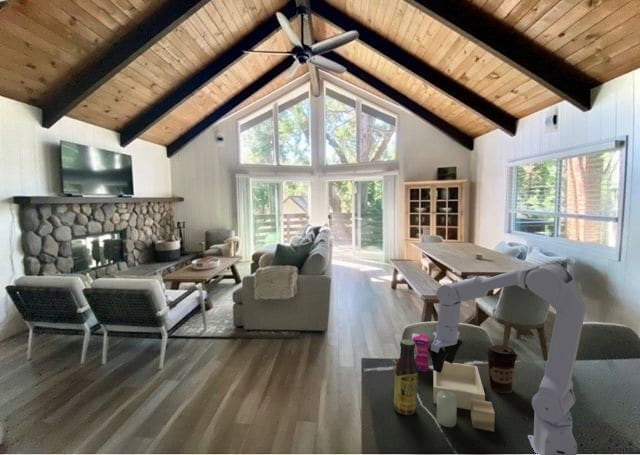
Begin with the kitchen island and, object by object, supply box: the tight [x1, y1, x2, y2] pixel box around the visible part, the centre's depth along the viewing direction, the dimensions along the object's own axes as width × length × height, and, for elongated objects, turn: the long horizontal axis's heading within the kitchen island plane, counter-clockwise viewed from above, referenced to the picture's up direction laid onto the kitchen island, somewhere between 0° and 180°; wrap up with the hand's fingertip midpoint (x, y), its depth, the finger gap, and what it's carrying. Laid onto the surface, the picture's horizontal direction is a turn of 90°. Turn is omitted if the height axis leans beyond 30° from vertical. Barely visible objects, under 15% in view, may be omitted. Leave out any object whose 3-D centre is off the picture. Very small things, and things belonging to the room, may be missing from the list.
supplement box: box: [411, 332, 430, 373], centre depth 116 cm, size 6×6×12 cm
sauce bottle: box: [393, 338, 419, 416], centre depth 92 cm, size 7×6×20 cm
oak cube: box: [470, 399, 496, 432], centre depth 87 cm, size 5×5×5 cm
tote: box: [432, 361, 486, 411], centre depth 102 cm, size 18×14×5 cm
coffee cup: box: [486, 344, 518, 394], centre depth 103 cm, size 9×8×13 cm
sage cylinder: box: [436, 391, 458, 428], centre depth 88 cm, size 5×5×7 cm
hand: (443, 366), depth 97 cm, fingers open, 7 cm apart
